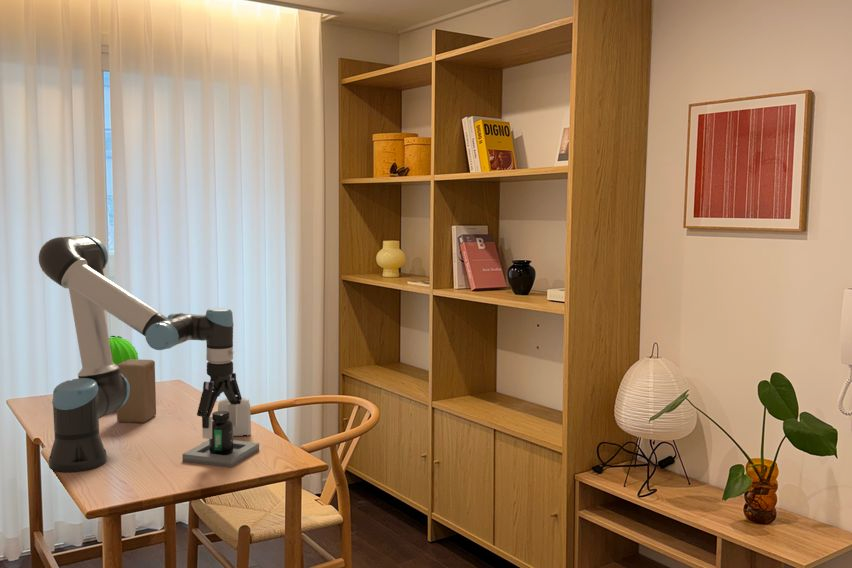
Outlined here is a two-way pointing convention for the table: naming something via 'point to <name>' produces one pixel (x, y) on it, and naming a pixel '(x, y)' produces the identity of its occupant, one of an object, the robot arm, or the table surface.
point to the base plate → (205, 457)
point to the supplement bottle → (221, 434)
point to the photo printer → (239, 416)
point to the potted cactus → (121, 350)
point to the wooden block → (138, 391)
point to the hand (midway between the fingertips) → (220, 431)
